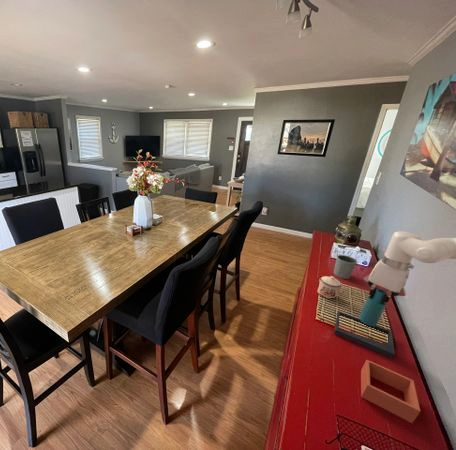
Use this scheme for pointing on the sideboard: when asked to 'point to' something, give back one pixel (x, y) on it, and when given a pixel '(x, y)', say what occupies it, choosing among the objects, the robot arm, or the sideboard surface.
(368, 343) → the dark gray rectangular frame
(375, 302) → the bottle
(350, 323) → the sideboard surface
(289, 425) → the sideboard surface
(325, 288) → the teacup with lid
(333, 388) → the sideboard surface
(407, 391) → the bin
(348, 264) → the grey cup
